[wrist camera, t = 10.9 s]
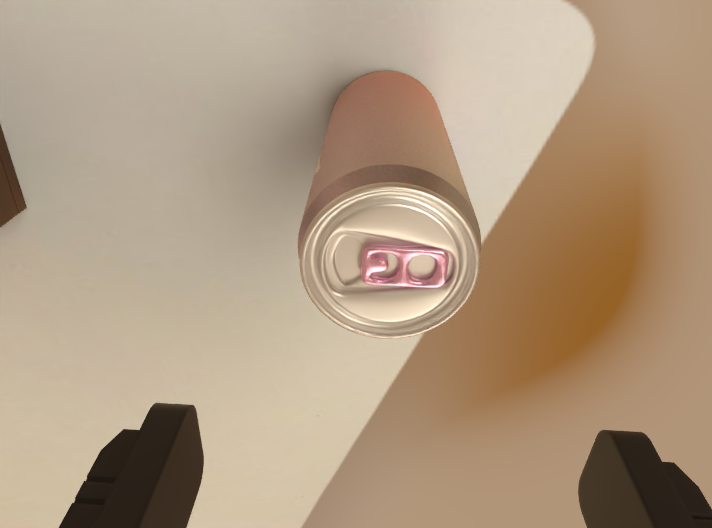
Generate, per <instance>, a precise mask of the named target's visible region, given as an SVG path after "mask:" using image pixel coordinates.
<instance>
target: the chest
mask: <svg viewBox="0 0 712 528" xmlns="http://www.w3.org/2000/svg"><path fill="white" fill-rule="evenodd" d="M24 209H26V205H25V202H24V199H23V196H22V193H21V189H20V186H19V183H18V180H17V177H16V174H15V170H14V167H13V164H12V161H11V158H10V155H9V152H8V148H7V145H6V142H5V139H4V136H3V133H2V129H1V126H0V227H2V226H3V225H4V224H6V223H7V222H8V221H10V220H11V219H12V218H13V217H15V216H16V215H17V214H18V213H20V212H22V211H23V210H24Z"/></svg>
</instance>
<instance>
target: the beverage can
mask: <svg viewBox="0 0 712 528" xmlns="http://www.w3.org/2000/svg"><path fill="white" fill-rule="evenodd" d="M480 250H481V236H480V229H479V225H478V222H477V219H476V216H475V213H474V210H473V207H472V204H471V201H470V198H469V195H468V193H467V190H466V187H465V184H464V181H463V178H462V175H461V172H460V169H459V166H458V164H457V161H456V158H455V155H454V152H453V149H452V146H451V143H450V140H449V138H448V135H447V132H446V129H445V126H444V123H443V120H442V117H441V114H440V112H439V109H438V106H437V103H436V101H435V99H434V98H433V96H432V94H431V93H430V92H429V90H428V89H427V88H426V87H425V86H424V85H423V84H421V83H420V82H419V81H417V80H416V79H414V78H413V77H411V76H408V75H406V74H403V73H399V72H394V71H378V72H373V73H370V74H366V75H364V76H362V77H360V78H358V79H356V80H355V81H353V82H352V83H351V84H350V85H348V86H347V87H346V88H345V89H344V90H343V92H342V93H341V94H340V96H339V97H338V99H337V100H336V102H335V105H334V107H333V110H332V113H331V117H330V120H329V124H328V128H327V131H326V135H325V138H324V142H323V146H322V149H321V153H320V157H319V160H318V164H317V168H316V171H315V175H314V178H313V182H312V186H311V189H310V193H309V197H308V200H307V204H306V208H305V211H304V215H303V218H302V222H301V226H300V230H299V236H298V253H299V259H300V272H301V277H302V281H303V284H304V287H305V289H306V291H307V293H308V295H309V297H310V298H311V300H312V301H313V303H314V304H315V305H316V307H317V308H318V309H319V310H320V311H321V312H322V313H323V314H324V315H325V316H326V317H328V318H329V319H330V320H332V321H333V322H334V323H336V324H338V325H339V326H341V327H343V328H345V329H347V330H349V331H352V332H355V333H357V334H361V335H364V336H369V337H375V338H403V337H409V336H414V335H417V334H421V333H424V332H426V331H429V330H431V329H433V328H435V327H437V326H439V325H441V324H442V323H444V322H445V321H447V320H448V319H450V318H451V317H452V316H453V315H455V314H456V313H457V312H458V311H459V310H460V308H461V307H462V306H463V305H464V304H465V303H466V301H467V300H468V298H469V297H470V295H471V293H472V291H473V289H474V287H475V285H476V282H477V279H478V275H479V269H480Z"/></svg>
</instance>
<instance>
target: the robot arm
mask: <svg viewBox="0 0 712 528" xmlns="http://www.w3.org/2000/svg"><path fill="white" fill-rule="evenodd" d="M203 465H204V456H203V449H202V443H201V437H200V431H199V425H198V419H197V412H196V409H195V407H194V406H193V405H182V404H165V403H155V404H154V405H153V406H152V407H151V408H150V410H149V412H148V414H147V416H146V418H145V420H144V422H143V424H142V426H141V428H140V430H128V429H123V430H122V431H121V432H120V433H119V434H118V435H117V436H116V437H115V438H114V439H113V440H112V441H111V442H110V443H108V444H107V445H106V446H105V447H104V448H103V449H102V450H101V451H100V453H99V455H98V457H97V459H96V461H95V462H94V464H93V466H92V468H91V470H90V472H89V473H88V475H87V480H86V481H84V483H83V484H82V486H81V488H80V490H79V492H78V493H77V495H76V497H75V502H74V503H72V504H71V506H70V508H69V510H68V512H67V514H66V515H65V517H64V519H63V521H62V523H61V525H60V526H59V528H186V527H187V524H188V521H189V518H190V515H191V512H192V509H193V506H194V503H195V500H196V497H197V494H198V491H199V487H200V484H201V479H202V474H203ZM578 490H579V491H578V494H579V503H580V507H581V511H582V514H583V517H584V520H585V523H586V526H587V528H712V509H711V507H710V506H709V504H708V502H707V501H706V499H705V497H704V495H703V494H702V492H701V490H700V489H699V487H698V486H697V485H696V484H695V483H694V482H693V481H692V480H691V479H690V478H689V477H688V476H687V475H686V474H685V473H684V472H683V471H682V470H681V469H680V468H679V467H678V466H677V465H676V464H675V463H671V462H662V461H661V459H660V457H659V455H658V453H657V452H656V450H655V448H654V446H653V444H652V442H651V441H650V439H649V438H648V437H647V435H645V434H644V433H642V432H629V431H611V430H602V431H600V432H599V433H598V435H597V437H596V439H595V442H594V444H593V447H592V449H591V452H590V454H589V457H588V460H587V462H586V464H585V467H584V469H583V472H582V474H581V477H580V480H579V489H578Z"/></svg>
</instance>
